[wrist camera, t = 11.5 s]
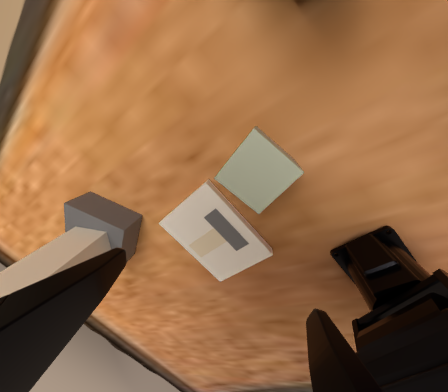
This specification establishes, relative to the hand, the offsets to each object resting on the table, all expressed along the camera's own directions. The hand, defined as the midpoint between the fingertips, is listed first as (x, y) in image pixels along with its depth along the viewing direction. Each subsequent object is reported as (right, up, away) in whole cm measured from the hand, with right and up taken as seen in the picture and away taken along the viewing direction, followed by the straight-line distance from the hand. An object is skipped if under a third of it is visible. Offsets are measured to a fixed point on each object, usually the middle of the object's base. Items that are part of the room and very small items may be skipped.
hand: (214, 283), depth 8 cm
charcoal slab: (-16, 0, +18) cm, 24 cm away
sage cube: (+4, +8, +10) cm, 13 cm away
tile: (-1, -1, +15) cm, 15 cm away
